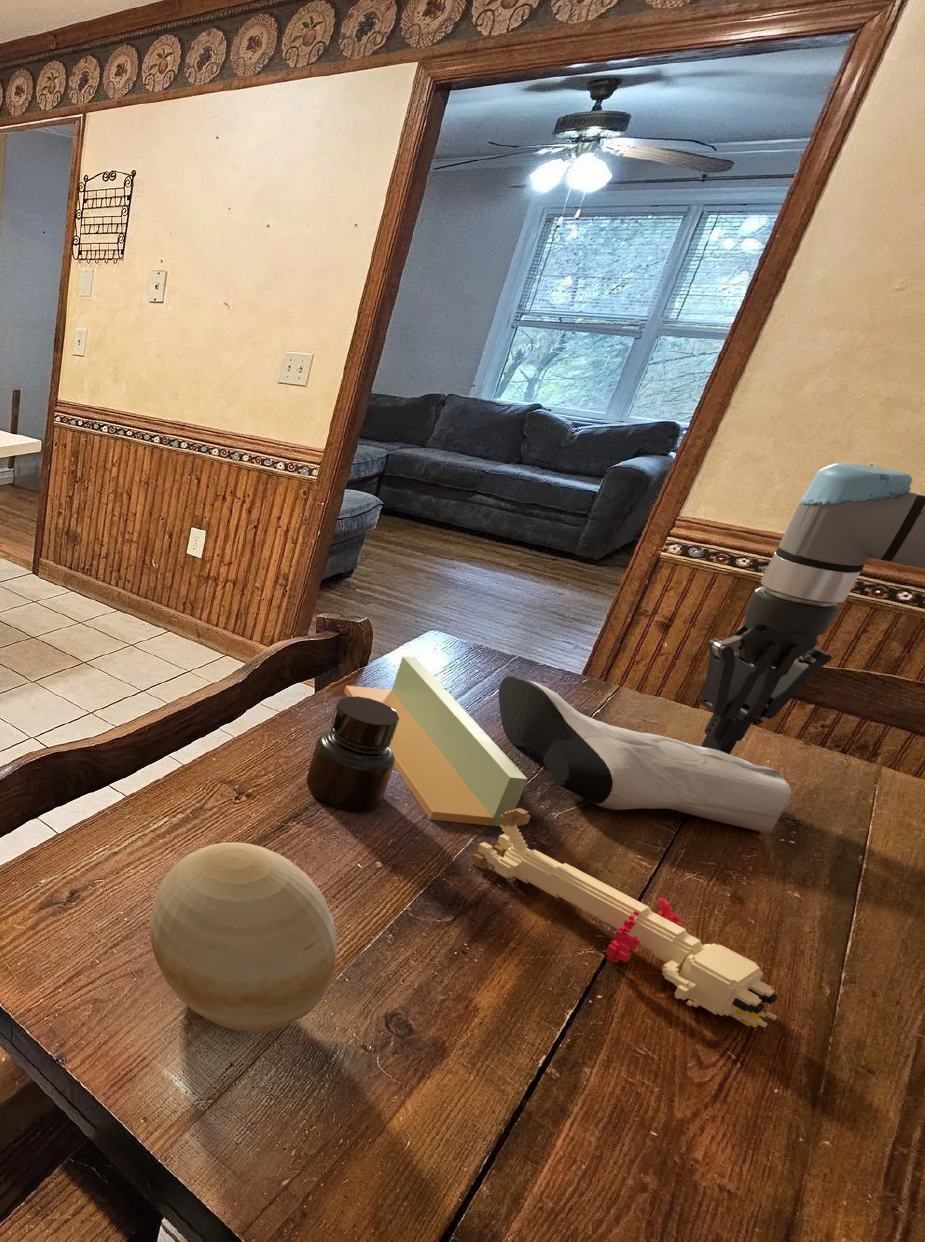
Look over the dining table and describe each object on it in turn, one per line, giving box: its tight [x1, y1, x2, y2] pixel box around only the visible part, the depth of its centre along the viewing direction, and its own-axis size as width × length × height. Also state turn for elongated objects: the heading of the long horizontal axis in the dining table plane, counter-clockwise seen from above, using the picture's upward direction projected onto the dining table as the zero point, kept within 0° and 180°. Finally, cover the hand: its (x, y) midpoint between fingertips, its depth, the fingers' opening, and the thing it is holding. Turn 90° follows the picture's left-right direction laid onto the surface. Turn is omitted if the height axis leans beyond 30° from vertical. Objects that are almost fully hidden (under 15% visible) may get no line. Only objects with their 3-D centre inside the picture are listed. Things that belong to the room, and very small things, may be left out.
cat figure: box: [470, 807, 779, 1029], centre depth 78 cm, size 10×9×25 cm
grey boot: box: [498, 675, 792, 834], centre depth 106 cm, size 10×28×25 cm
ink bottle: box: [306, 696, 399, 813], centre depth 97 cm, size 10×9×12 cm
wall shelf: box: [343, 656, 529, 827], centre depth 108 cm, size 9×32×7 cm, turn 174°
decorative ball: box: [149, 841, 338, 1033], centre depth 67 cm, size 15×15×15 cm
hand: (710, 758), depth 105 cm, fingers closed
